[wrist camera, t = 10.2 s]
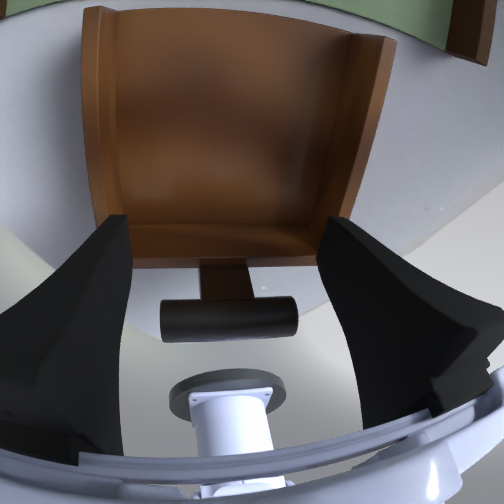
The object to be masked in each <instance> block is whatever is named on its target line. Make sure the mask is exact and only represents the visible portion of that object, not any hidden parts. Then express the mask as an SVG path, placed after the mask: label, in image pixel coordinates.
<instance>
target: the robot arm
mask: <svg viewBox="0 0 504 504" xmlns="http://www.w3.org/2000/svg"><path fill="white" fill-rule="evenodd" d="M316 262H317V266H318V270H319V273H320V276H321V280H322V282H323V285H324V287H325V290H326V292H327V294H328V297H329V299H330V301H331V303H332V305H333V308H334V310H335V312H336V315H337V317H338V319H339V322H340V324H341V326H342V329H343V332H344V334H345V337H346V340H347V344H348V348H349V351H350V355H351V359H352V363H353V367H354V371H355V376H356V380H357V386H358V392H359V397H360V404H361V413H362V422H363V430H362V431H358V432H355V433H351V434H347V435H344V436H340V437H336V438H332V439H327V440H323V441H318V442H314V443H309V444H304V445H299V446H294V447H288V448H282V449H275V450H274V449H273V444H272V440H271V435H270V431H269V426H268V422H267V417H266V412H265V409H266V406H267V404H268V402H269V400H270V397H271V395H272V393H273V390H272V388H271V387H265V388H255V389H244V390H232V391H216V392H194V393H189V394H188V399H189V407H190V415H191V422H192V427H195V428H196V438H197V447H198V456H199V457H187V458H150V457H128V456H124V453H123V446H122V437H121V426H120V412H119V411H120V410H119V352H120V342H121V335H122V329H123V323H124V318H125V313H126V308H127V303H128V297H129V292H130V287H131V279H132V268H133V257H132V250H131V243H130V236H129V228H128V220H127V214H121V215H109V216H108V217H107V218H106V219H105V220H104V221H103V223H102V224H101V225H100V226H99V227H98V228H97V229H96V230H95V231H94V232H93V233H92V234H91V235H90V237H89V238H88V239H87V240H86V241H85V242H84V243H83V244H82V245H81V246H80V247H79V248H78V249H77V250H76V251H75V252H74V253H73V254H72V255H71V256H70V257H69V258H68V259H67V260H66V261H65V262H64V263H63V264H62V265H61V266H60V267H59V268H58V269H57V270H56V271H55V272H54V273H53V274H52V275H51V276H49V277H48V278H47V279H46V280H45V281H44V282H43V283H42V284H40V285H39V286H38V287H37V288H35V289H34V290H33V291H31V292H30V293H29V294H27V295H26V296H25V297H24V298H22V299H21V300H20V301H19V302H17V303H16V304H15V305H13V306H12V307H10V308H9V309H7V310H6V311H5V312H3V313H1V314H0V504H445V502H444V501H446V500H448V499H449V498H450V497H452V496H453V495H454V494H456V493H457V492H459V490H460V489H461V486H462V483H463V482H462V479H461V476H460V474H461V473H463V472H464V471H465V470H467V469H468V468H469V467H471V466H472V465H473V464H474V463H476V462H477V461H478V460H479V459H481V458H482V457H483V456H484V455H486V454H487V453H488V452H489V451H490V450H492V448H494V447H495V446H496V445H497V444H498V443H499V442H501V440H503V439H504V366H502V367H500V368H499V369H497V370H495V371H493V372H492V373H491V374H490V375H489V373H488V372H487V370H486V369H487V368H488V367H489V366H490V363H489V361H488V359H487V357H488V356H489V355H490V354H491V353H492V352H493V351H494V350H495V349H496V348H497V346H498V345H499V344H500V343H501V342H502V341H503V340H504V311H503V310H502V309H501V308H500V307H498V306H494V305H492V304H489V303H486V302H483V301H481V300H478V299H475V298H473V297H471V296H468V295H466V294H464V293H462V292H459V291H457V290H455V289H453V288H451V287H449V286H447V285H445V284H444V283H442V282H440V281H438V280H436V279H434V278H432V277H431V276H429V275H427V274H426V273H424V272H422V271H421V270H419V269H418V268H416V267H414V266H413V265H411V264H410V263H408V262H407V261H405V260H404V259H403V258H401V257H400V256H398V255H397V254H395V253H394V252H393V251H391V250H390V249H388V248H387V247H386V246H384V245H383V244H382V243H380V242H379V241H378V240H376V239H375V238H374V237H372V236H371V235H369V234H368V233H367V232H365V231H364V230H363V229H361V228H360V227H358V226H357V225H356V224H354V223H353V222H351V221H350V220H348V219H346V218H344V217H339V216H329V217H328V220H327V223H326V227H325V230H324V233H323V236H322V240H321V243H320V246H319V249H318V253H317V256H316ZM396 443H397V444H396ZM393 444H395V445H393ZM390 445H392V446H390ZM387 446H390V447H388V448H386V449H384V450H381V451H379V452H378V453H377V454H376V455H374V456H373V457H371V458H370V459H368V460H366V461H365V462H363V463H361V464H359V465H357V466H355V467H353V468H352V469H351V470H350V471H347V472H344V473H340V474H336V475H333V476H329V477H325V478H321V479H318V480H313V481H309V482H305V483H301V484H297V485H296V484H294V483H292V482H291V481H285V480H284V476H279V475H283V474H289V473H294V472H299V471H304V470H308V469H313V468H317V467H321V466H325V465H329V464H333V463H337V462H340V461H344V460H347V459H351V458H354V457H357V456H361V455H364V454H367V453H370V452H373V451H376V450H379V449H382V448H385V447H387ZM147 484H202V486H200V492H194V493H193V495H192V496H191V497H190V499H189V500H188V497H187V496H186V495H184V494H180V490H179V489H178V488H177V487H166V486H155V485H147Z"/></svg>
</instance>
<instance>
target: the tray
mask: <svg viewBox="0 0 504 504" xmlns="http://www.w3.org/2000/svg"><path fill="white" fill-rule="evenodd" d="M396 45H397V41H396V40H394V39H391V38H388V37H386V36H380V35H371V34H360V33H352V32H348V31H345V30H341V29H337V28H334V27H330V26H326V25H322V24H317V23H313V22H308V21H304V20H299V19H294V18H288V17H283V16H277V15H270V14H264V13H256V12H248V11H238V10H227V9H212V8H149V9H134V10H123V11H117V10H114V9H111V8H107V7H104V6H94V7H88V8H85V9H84V12H83V25H82V45H81V97H82V118H83V132H84V144H85V154H86V163H87V171H88V179H89V186H90V193H91V199H92V205H93V211H94V217H95V222H96V228H98V227H99V226H100V225H101V224H102V223H103V221H104V220H105V219H106V218H107V217H108V216H109V215H121V214H127V220H128V228H129V236H130V243H131V250H132V257H133V268H132V269H155V268H198V273H199V289H200V299H176V300H161V303H160V331H161V338H162V341H163V342H165V343H174V342H212V341H232V340H250V339H263V338H264V339H265V338H277V337H288V336H293V335H295V334H296V332H297V328H298V309H297V305H296V302H295V300H294V298H293V297H292V296H275V297H254V292H253V288H252V284H251V279H250V275H249V271H248V267H282V266H317V262H316V256H317V253H318V249H319V246H320V243H321V240H322V236H323V233H324V230H325V227H326V223H327V220H328V217H329V216H339V217H344V218H346V219H348V220H349V218H350V215H351V212H352V209H353V206H354V203H355V200H356V197H357V194H358V191H359V188H360V185H361V181H362V178H363V175H364V172H365V168H366V165H367V162H368V158H369V155H370V151H371V148H372V144H373V141H374V137H375V134H376V130H377V126H378V122H379V119H380V115H381V111H382V107H383V103H384V99H385V95H386V91H387V87H388V82H389V78H390V74H391V69H392V65H393V60H394V55H395V50H396Z"/></svg>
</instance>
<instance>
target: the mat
mask: <svg viewBox="0 0 504 504" xmlns="http://www.w3.org/2000/svg"><path fill="white" fill-rule="evenodd" d="M59 1H63V0H0V19H3V18H5V17H8V16H11V15H14V14H17V13H20V12H23V11H26V10H29V9H33V8H36V7H40V6H43V5H47V4H51V3H55V2H59ZM304 1H308V2H313V3H317V4H321V5H325V6H328V7H332V8H336V9H339V10H343V11H346V12H349V13H353V14H356V15H359V16H362V17H365V18H368V19H371V20H373V21H376V22H379V23H382V24H384V25H387V26H389V27H392V28H395V29H397V30H399V31H402V32H404V33H407V34H409V35H411V36H413V37H416V38H418V39H420V40H422V41H424V42H426V43H428V44H431V45H433V46H435V47H437V48H439V49H441V50H443V51H445V52H447V53H449V54H450V55H452V56H454V57H457V58H460V59H464V60H467V61H470V62H473V63H477V64H480V65H483V66H487V63H488V59H489V53H490V48H491V42H492V36H493V30H494V23H495V15H496V5H497V0H304Z"/></svg>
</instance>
